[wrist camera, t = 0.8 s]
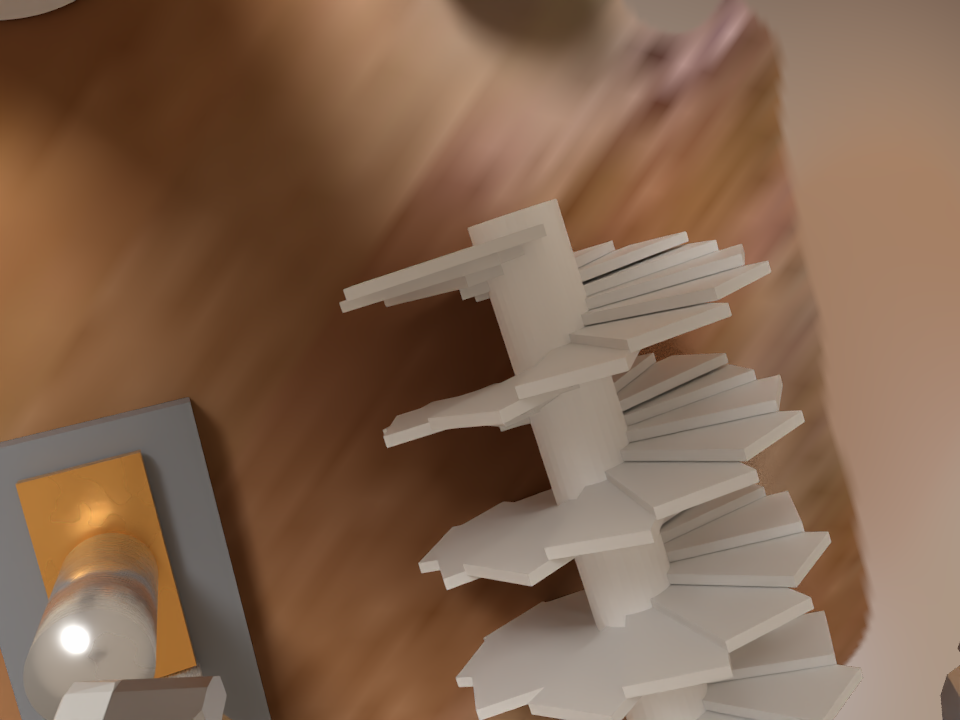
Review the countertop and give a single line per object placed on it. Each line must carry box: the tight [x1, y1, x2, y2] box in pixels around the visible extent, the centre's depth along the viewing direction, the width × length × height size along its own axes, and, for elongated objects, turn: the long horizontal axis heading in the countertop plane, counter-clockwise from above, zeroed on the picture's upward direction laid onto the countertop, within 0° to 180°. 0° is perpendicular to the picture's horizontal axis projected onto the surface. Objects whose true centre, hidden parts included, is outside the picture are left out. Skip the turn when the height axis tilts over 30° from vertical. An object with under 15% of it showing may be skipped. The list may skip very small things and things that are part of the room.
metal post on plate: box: [15, 450, 203, 720], centre depth 35 cm, size 11×5×11 cm, turn 12°
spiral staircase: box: [339, 199, 863, 720], centre depth 40 cm, size 18×18×25 cm
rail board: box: [0, 397, 271, 720], centre depth 42 cm, size 25×10×2 cm, turn 12°
